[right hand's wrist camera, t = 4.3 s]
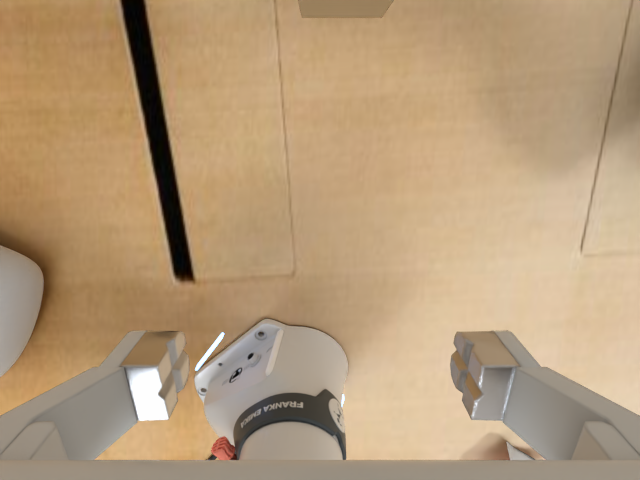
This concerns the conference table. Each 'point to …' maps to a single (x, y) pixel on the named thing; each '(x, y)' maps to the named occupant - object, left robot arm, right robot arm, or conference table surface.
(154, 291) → the conference table surface
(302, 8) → the box
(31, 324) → the grey slotted rounded block
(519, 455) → the fish
